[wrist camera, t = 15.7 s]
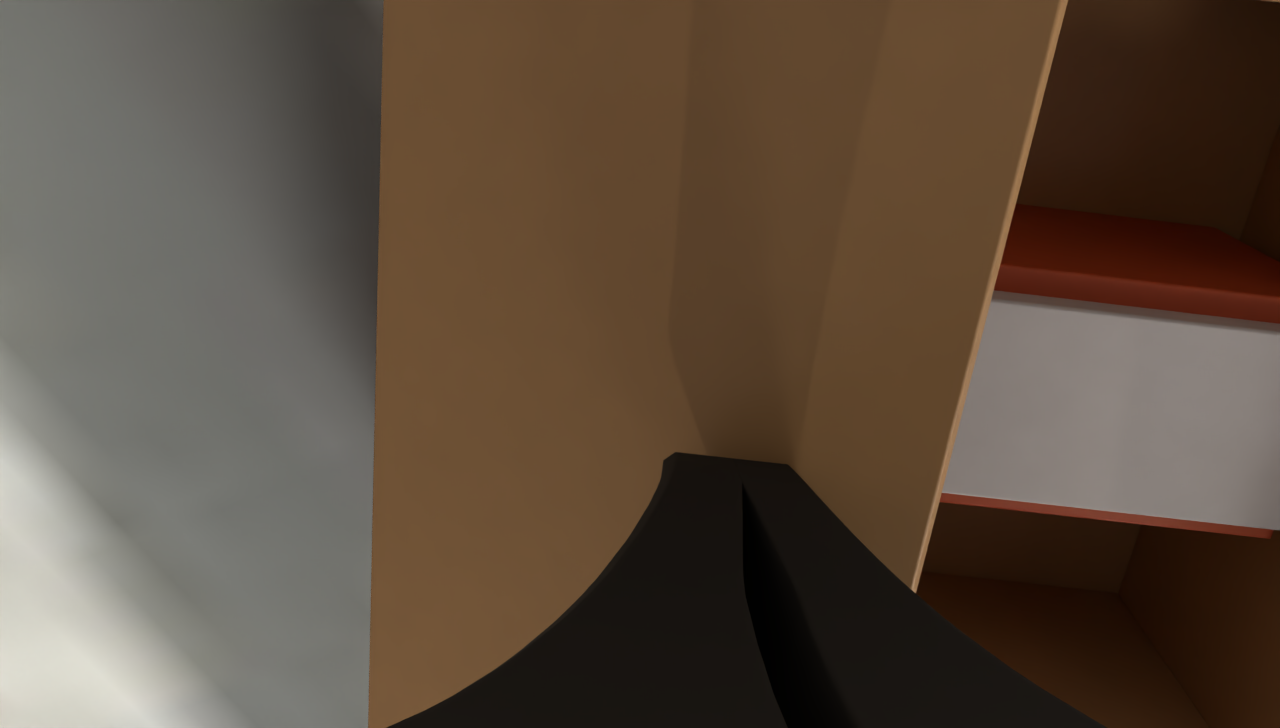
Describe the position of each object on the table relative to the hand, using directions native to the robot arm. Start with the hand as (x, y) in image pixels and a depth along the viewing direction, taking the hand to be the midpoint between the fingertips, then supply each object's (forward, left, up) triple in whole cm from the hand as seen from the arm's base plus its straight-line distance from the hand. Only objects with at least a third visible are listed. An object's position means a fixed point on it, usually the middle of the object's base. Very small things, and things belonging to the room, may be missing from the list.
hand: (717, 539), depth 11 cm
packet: (0, -6, -10) cm, 12 cm away
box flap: (0, +1, -1) cm, 2 cm away
